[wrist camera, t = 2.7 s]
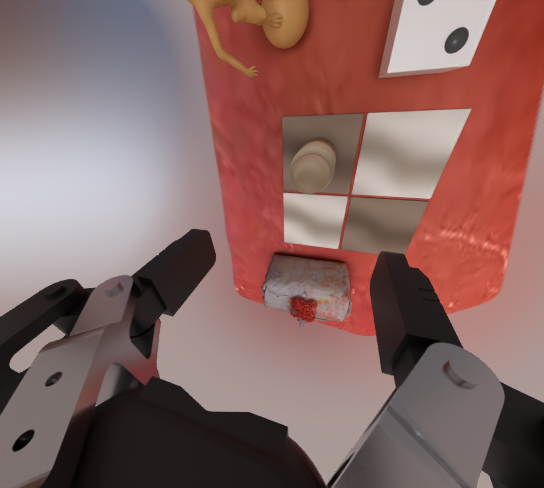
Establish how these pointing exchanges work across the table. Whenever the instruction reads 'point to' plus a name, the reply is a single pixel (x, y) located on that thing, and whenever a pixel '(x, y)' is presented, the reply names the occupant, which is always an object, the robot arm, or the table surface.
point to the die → (433, 35)
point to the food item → (308, 288)
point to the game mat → (369, 176)
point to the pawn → (313, 166)
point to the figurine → (257, 22)
